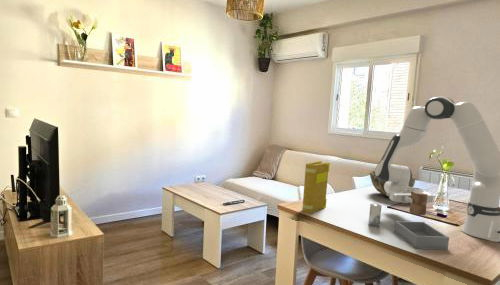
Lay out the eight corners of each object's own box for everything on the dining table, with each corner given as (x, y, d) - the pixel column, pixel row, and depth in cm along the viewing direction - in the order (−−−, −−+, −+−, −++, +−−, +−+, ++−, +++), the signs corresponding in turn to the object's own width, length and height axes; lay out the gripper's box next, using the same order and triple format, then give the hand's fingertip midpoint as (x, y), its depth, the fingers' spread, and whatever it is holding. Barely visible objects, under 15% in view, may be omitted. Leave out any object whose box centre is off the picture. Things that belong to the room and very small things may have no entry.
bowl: (358, 192, 221) (360, 170, 219) (387, 189, 232) (389, 169, 231) (391, 203, 196) (394, 179, 195) (422, 200, 208) (425, 177, 206)
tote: (422, 232, 150) (423, 222, 150) (447, 249, 133) (449, 237, 132) (393, 231, 149) (395, 221, 149) (415, 248, 132) (416, 236, 131)
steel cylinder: (376, 223, 159) (378, 203, 158) (381, 227, 154) (383, 206, 153) (366, 223, 159) (368, 203, 158) (370, 227, 154) (373, 206, 153)
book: (314, 204, 185) (318, 160, 183) (325, 207, 181) (329, 162, 178) (299, 210, 172) (303, 163, 170) (310, 213, 168) (314, 165, 165)
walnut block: (419, 211, 159) (421, 191, 158) (425, 215, 154) (427, 194, 153) (409, 211, 159) (411, 191, 158) (415, 214, 154) (417, 194, 153)
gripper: (385, 187, 168) (398, 194, 154) (423, 188, 169) (440, 195, 155) (384, 199, 168) (397, 207, 155) (422, 200, 170) (439, 208, 156)
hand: (419, 201), depth 155 cm, fingers closed on walnut block, 5 cm apart
